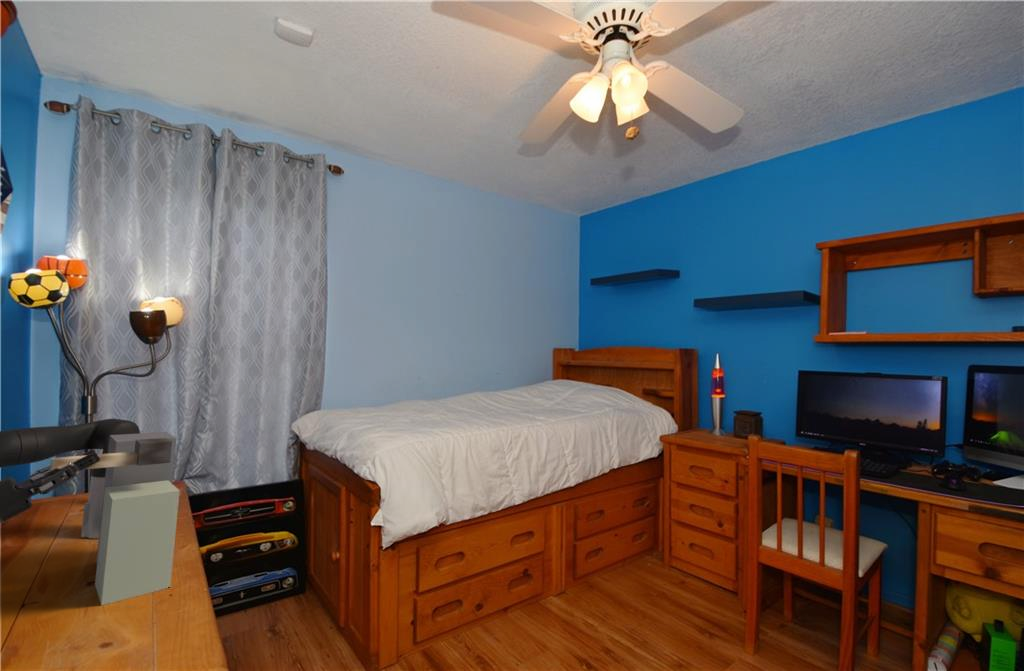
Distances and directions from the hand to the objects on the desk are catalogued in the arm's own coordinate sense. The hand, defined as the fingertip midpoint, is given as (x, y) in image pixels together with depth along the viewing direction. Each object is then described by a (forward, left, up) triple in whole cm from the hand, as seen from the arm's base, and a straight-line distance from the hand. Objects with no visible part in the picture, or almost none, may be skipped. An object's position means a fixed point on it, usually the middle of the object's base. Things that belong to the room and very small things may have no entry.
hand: (96, 454), depth 102 cm
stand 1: (+1, +18, -31) cm, 36 cm away
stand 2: (+8, +4, -31) cm, 32 cm away
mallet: (+3, +1, -3) cm, 4 cm away
